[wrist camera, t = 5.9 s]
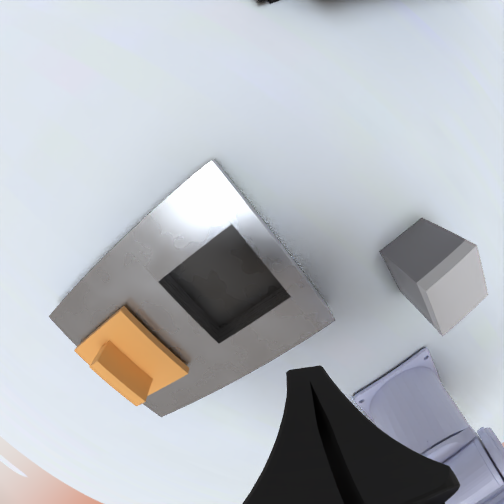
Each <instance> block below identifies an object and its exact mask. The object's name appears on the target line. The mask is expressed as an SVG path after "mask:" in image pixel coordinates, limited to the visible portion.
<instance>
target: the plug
mask: <svg viewBox="0 0 504 504" xmlns="http://www.w3.org/2000/svg"><path fill="white" fill-rule="evenodd" d="M379 252H380V253H381V255H382V257H383V259H384V261H385V263H386V264H387V266H388V268H389V270H390V272H391V274H392V276H393V278H394V280H395V282H396V284H397V286H398V288H399V290H400V292H401V293H402V294H403V295H404V296H405V297H406V298H407V299H408V300H409V301H410V302H411V303H412V304H413V305H414V306H415V307H416V308H417V309H418V310H419V311H420V312H421V313H422V314H423V315H424V317H425V318H426V319H427V320H428V321H429V322H430V323H431V324H432V325H433V326H434V327H435V328H436V329H437V331H438V332H439V333H440V334H441V335H442V336H444V335H445V334H446V333H447V332H448V331H449V330H451V329H452V328H453V327H454V326H455V325H456V324H458V323H459V322H460V321H461V320H462V319H463V318H464V317H465V316H467V315H468V314H469V313H470V312H471V311H472V310H473V309H474V308H475V307H476V306H477V305H478V304H479V303H480V302H481V301H482V300H483V299H484V298H485V297H486V296H487V295H488V292H487V287H486V282H485V277H484V273H483V268H482V264H481V260H480V256H479V252H478V248H477V245H475V244H473V243H471V242H470V241H468V240H466V239H464V238H462V237H460V236H458V235H456V234H454V233H452V232H450V231H448V230H446V229H444V228H442V227H440V226H438V225H436V224H434V223H432V222H430V221H428V220H425V219H423V218H421V219H420V220H418V221H417V222H416V223H415V224H414V225H412V226H411V227H410V228H409V229H407V230H406V231H405V232H404V233H402V234H401V235H400V236H399V237H397V238H396V239H395V240H394V241H392V242H391V243H390V244H388V245H387V246H386V247H385V248H383V249H382V250H381V251H379Z"/></svg>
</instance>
